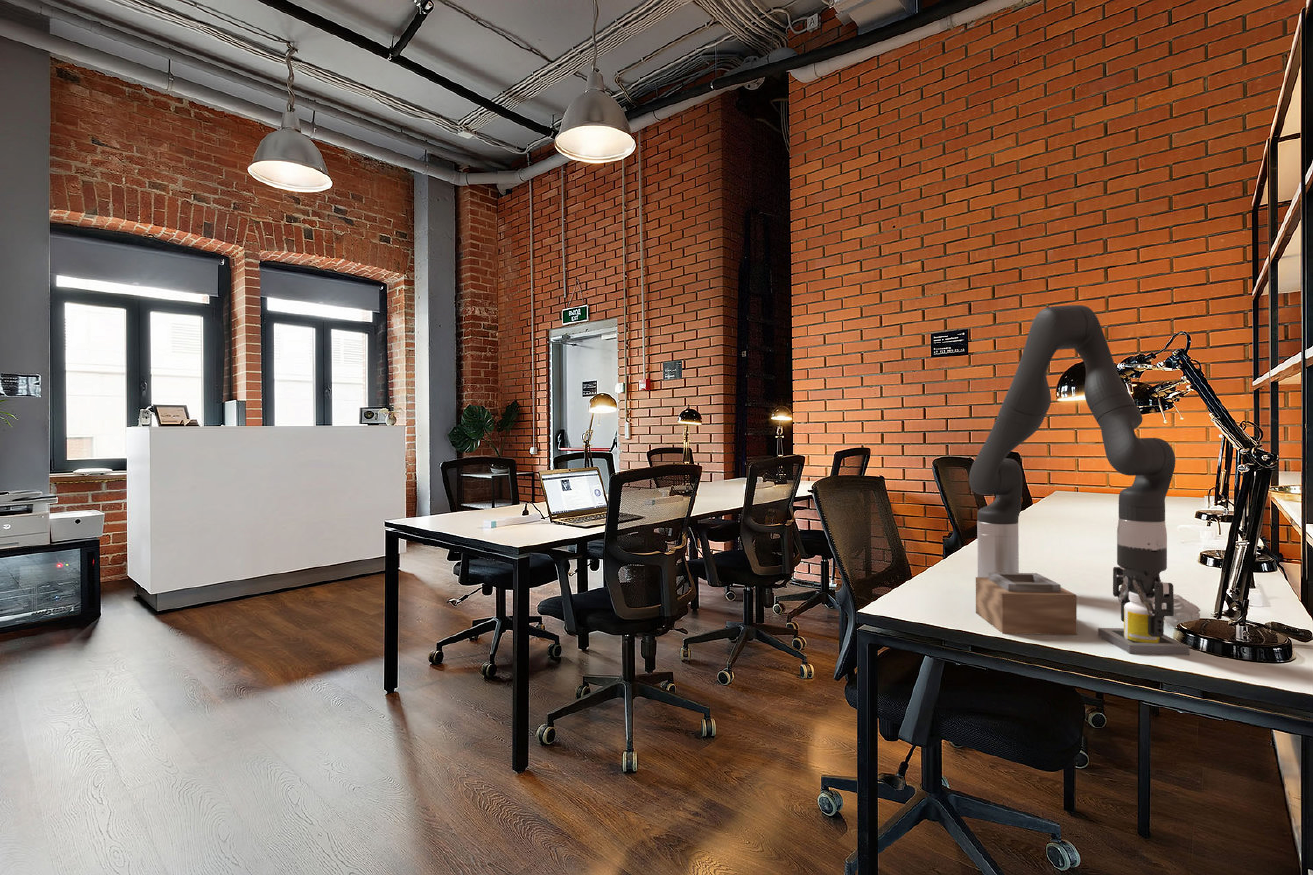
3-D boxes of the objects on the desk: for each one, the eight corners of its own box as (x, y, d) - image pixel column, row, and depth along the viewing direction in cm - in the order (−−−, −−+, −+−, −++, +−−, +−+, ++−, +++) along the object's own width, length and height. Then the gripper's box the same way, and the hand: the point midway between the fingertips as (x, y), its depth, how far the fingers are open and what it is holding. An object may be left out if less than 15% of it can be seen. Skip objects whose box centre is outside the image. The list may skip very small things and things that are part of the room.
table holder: (1098, 635, 126) (1098, 627, 126) (1152, 636, 125) (1152, 628, 125) (1129, 653, 116) (1129, 645, 116) (1189, 654, 115) (1189, 646, 115)
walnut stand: (975, 612, 142) (975, 570, 142) (1042, 613, 140) (1042, 571, 140) (1002, 633, 128) (1002, 586, 128) (1076, 634, 126) (1076, 587, 126)
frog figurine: (1152, 623, 133) (1152, 590, 133) (1192, 626, 131) (1192, 592, 131) (1165, 632, 127) (1165, 597, 127) (1207, 635, 125) (1207, 600, 125)
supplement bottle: (1166, 650, 117) (1166, 597, 117) (1133, 648, 118) (1133, 596, 118) (1149, 640, 123) (1149, 590, 122) (1118, 639, 124) (1118, 589, 123)
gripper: (1098, 536, 128) (1098, 617, 128) (1144, 550, 113) (1144, 641, 114) (1138, 536, 127) (1138, 618, 127) (1190, 550, 113) (1190, 642, 113)
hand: (1141, 628), depth 120 cm, fingers open, 7 cm apart
